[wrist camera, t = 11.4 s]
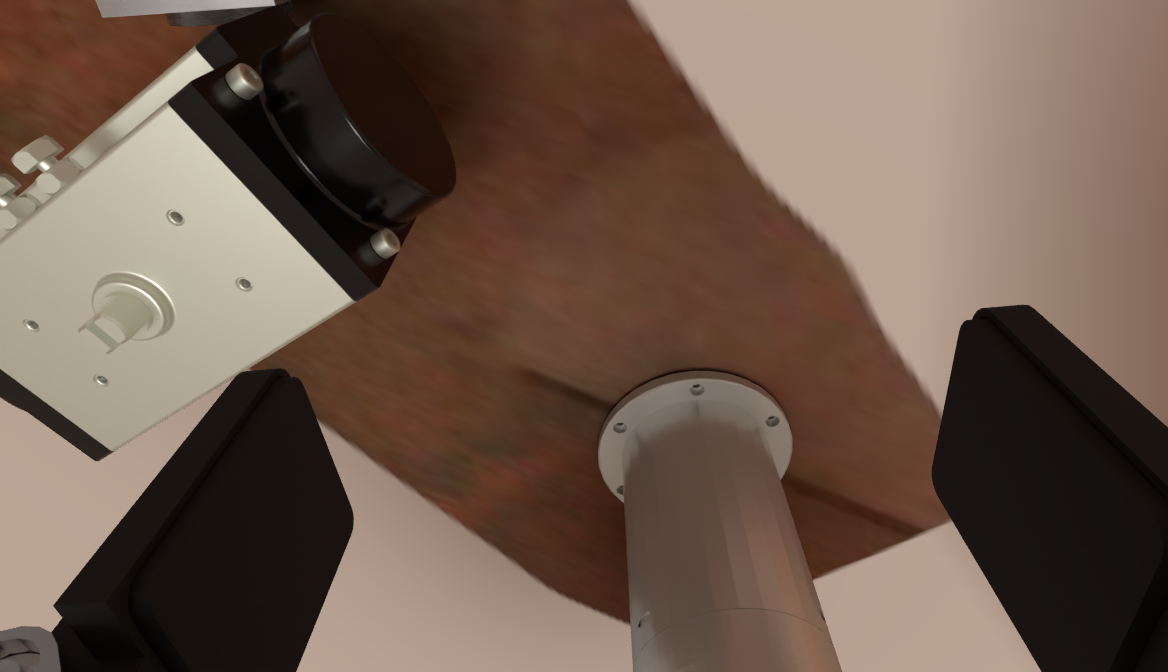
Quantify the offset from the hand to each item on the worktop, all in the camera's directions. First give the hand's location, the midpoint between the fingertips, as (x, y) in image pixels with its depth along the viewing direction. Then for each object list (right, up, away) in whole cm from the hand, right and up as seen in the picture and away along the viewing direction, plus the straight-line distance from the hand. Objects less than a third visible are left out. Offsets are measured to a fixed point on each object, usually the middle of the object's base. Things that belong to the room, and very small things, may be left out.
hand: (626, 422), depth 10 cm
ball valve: (-15, +12, +25) cm, 31 cm away
